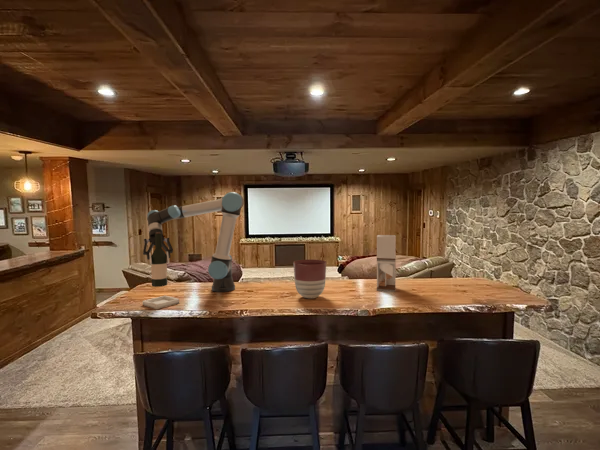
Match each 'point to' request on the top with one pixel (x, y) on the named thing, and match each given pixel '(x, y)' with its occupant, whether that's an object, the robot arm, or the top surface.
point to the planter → (310, 277)
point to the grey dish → (160, 302)
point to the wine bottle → (159, 264)
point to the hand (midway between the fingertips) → (159, 262)
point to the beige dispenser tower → (386, 262)
